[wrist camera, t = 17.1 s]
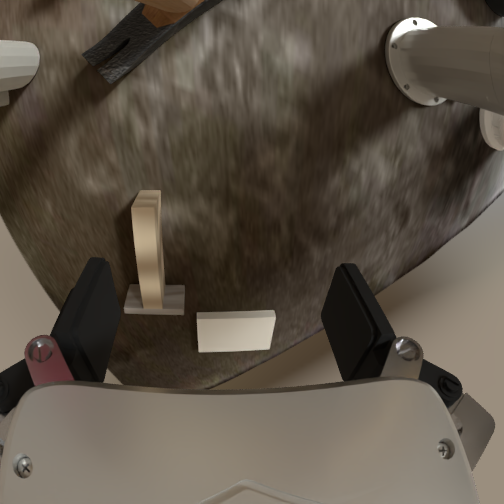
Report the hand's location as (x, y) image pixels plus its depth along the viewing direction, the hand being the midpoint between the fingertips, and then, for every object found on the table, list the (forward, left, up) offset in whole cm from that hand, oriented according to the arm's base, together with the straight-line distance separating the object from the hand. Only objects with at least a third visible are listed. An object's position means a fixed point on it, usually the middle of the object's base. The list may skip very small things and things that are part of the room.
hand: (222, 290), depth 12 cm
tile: (-5, +24, -23) cm, 34 cm away
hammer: (+5, -17, -24) cm, 30 cm away
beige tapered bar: (+7, +12, -24) cm, 27 cm away
